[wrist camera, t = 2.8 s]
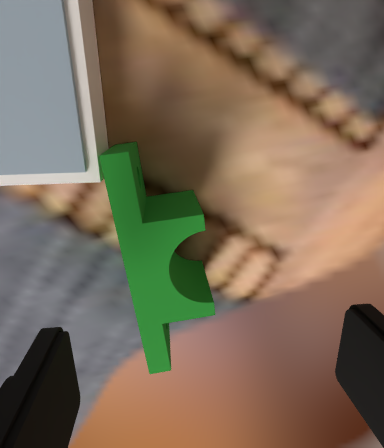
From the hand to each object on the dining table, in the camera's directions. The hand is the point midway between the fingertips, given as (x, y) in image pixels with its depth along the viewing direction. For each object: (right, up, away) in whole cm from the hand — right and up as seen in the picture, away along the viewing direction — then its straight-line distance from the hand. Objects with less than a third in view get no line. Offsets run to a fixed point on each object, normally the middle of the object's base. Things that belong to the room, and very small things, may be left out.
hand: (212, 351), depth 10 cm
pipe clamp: (-2, +3, +8) cm, 9 cm away
